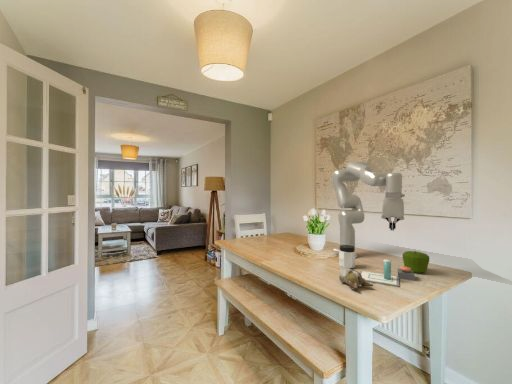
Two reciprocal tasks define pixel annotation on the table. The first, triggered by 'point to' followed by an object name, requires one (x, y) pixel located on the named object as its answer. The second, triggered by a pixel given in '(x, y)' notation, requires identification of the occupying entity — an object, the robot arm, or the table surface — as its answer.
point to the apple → (416, 261)
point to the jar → (347, 256)
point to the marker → (387, 269)
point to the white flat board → (380, 278)
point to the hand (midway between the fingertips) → (392, 230)
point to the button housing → (406, 275)
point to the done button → (405, 269)
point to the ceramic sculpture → (352, 278)
